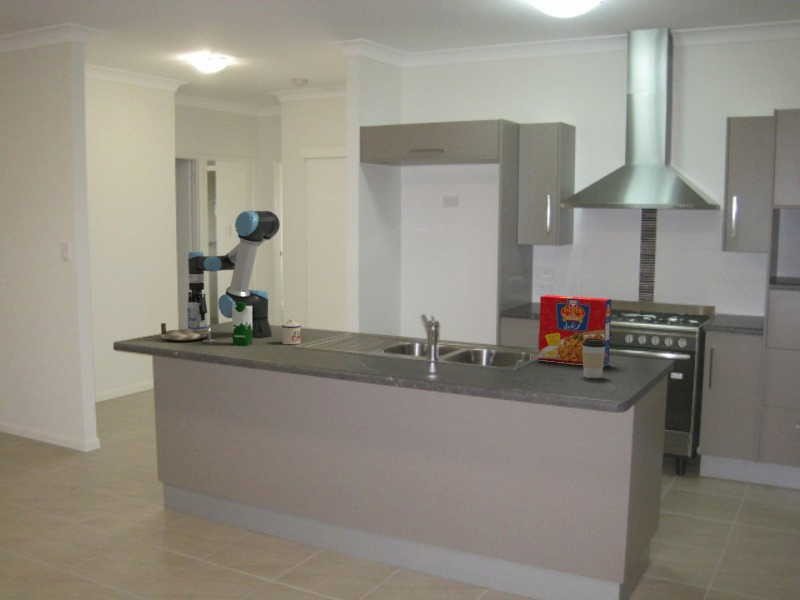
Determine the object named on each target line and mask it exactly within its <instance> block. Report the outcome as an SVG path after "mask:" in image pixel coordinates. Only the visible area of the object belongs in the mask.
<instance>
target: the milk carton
mask: <svg viewBox="0 0 800 600" xmlns="http://www.w3.org/2000/svg"><path fill="white" fill-rule="evenodd" d="M231 321H232V322H231V323H232V345H233V346H242V347H243V346H246V347H247V346H250V345H251V344H252V343H253V338H252V306H245V302H237V306H234V307H232V318H231Z"/></svg>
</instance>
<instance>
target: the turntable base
mask: <svg viewBox="0 0 800 600" xmlns="http://www.w3.org/2000/svg"><path fill="white" fill-rule="evenodd" d="M199 340H200V339H189V340H172V339H169V341H170V342H179V343H182V342H183V343H184V342H187V343H188V342H195V341H196V342H197V341H199Z"/></svg>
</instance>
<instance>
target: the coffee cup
mask: <svg viewBox="0 0 800 600" xmlns="http://www.w3.org/2000/svg"><path fill="white" fill-rule="evenodd" d="M582 346H583V351H582V355H583V366H582V367H583V377H584V376H585V377H595V378H596V377H601V376H602V377H603V370H604V368H603V365H604V357H605V346H606V345H605V343H604V342H603V340H601V339H585V341H584V342H583V344H582ZM585 377H584V378H585Z"/></svg>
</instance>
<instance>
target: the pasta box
mask: <svg viewBox="0 0 800 600" xmlns="http://www.w3.org/2000/svg"><path fill="white" fill-rule="evenodd" d="M539 302H540V303H539V304H540V305H539V331H538V334H539V336H538V361H539V360H547V361H555V362H564V363H574V364H583V355H582V351H583V346H582V344H583V342H584V341H585V339H601V340H603V342H604V343H605V345H606V346H605V357H604V365H603V366H605V365H607V364H608V363H610V345H611V344H610V343H611V342H610V341H611V316H612V299H611V298H602V297H601V298H600V297H584V296H583V297H582V296H571V295H570V296H569V295H568V296H567V295H556V294H555V295H553V294H545V295H541V296H540V299H539Z"/></svg>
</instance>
